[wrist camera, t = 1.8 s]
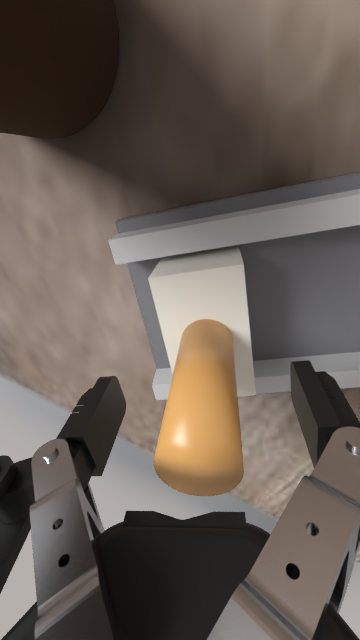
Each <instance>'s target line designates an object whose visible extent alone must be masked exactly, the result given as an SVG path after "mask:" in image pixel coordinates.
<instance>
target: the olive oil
mask: <svg viewBox="0 0 360 640" xmlns="http://www.w3.org/2000/svg"><path fill="white" fill-rule="evenodd" d="M118 50H119V39H118V25H117V18H116V12H115V8H114V3H113V0H0V133H8V134H16V135H24V136H31V137H40V138H60V137H65V136H68V135H71V134H74V133H76V132H78V131H80V130H81V129H83V128H84V127H86V126H87V125H88V124H89V123H91V122H92V121H93V120H94V118H95V117H96V116H97V115H98V114H99V112H100V111H101V109H102V108H103V106H104V104H105V103H106V101H107V99H108V97H109V94H110V92H111V89H112V86H113V83H114V79H115V75H116V70H117V63H118Z"/></svg>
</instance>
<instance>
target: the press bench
mask: <svg viewBox="0 0 360 640" xmlns="http://www.w3.org/2000/svg"><path fill="white" fill-rule="evenodd" d="M116 225H117V229H118V232H119V234H117V235H116V236H114V237H113V238H111V239H110V240H108V241H109V244H110V247H111V251H112V254H113V257H114V261H115V264H116V265H117V264H123V263H127V264H128V268H129V272H130V275H131V279H132V282H133V286H134V289H135V293H136V297H137V300H138V304H139V307H140V311H141V314H142V318H143V321H144V325H145V329H146V332H147V336H148V339H149V343H150V346H151V350H152V353H153V357H154V361H155V364H156V368H157V370H156V373H155V377H154V380H153V383H152V387H153V391H154V394H155V397H156V400H165V399H168V395H169V390H170V386H171V381H172V377H173V375H172V371H171V367H170V363H169V359H168V355H167V351H166V347H165V343H164V339H163V335H162V331H161V327H160V323H159V319H158V315H157V312H156V308H155V304H154V300H153V296H152V292H151V288H150V284H149V280H148V278H149V276H150V275H151V273H152V272H153V270H154V269H155V267H156V265H157V264H158V262H159V261H160V259H161V258H164V257H170V256H177V255H183V254H189V253H195V252H201V251H207V250H213V249H220V248H226V247H232V246H238V245H239V249H240V252H241V256H242V260H243V264H244V273H245V284H246V294H247V305H248V315H249V326H250V336H251V347H252V357H253V368H254V378H255V389H256V394H261V393H277V392H291V379H290V363H291V362H293V361H305V360H309V361H310V362H311V364H312V366H313V368H314V370H315V372H320V371H325V372H327V373H328V374H329V375H330V376H332V377H333V378H334V379H335V380H336V382H337V384H338V385H339V387H340V389H341V388H357V387H360V172H356V173H351V174H345V175H340V176H335V177H330V178H325V179H320V180H315V181H310V182H305V183H300V184H295V185H289V186H284V187H279V188H274V189H269V190H264V191H259V192H254V193H249V194H244V195H239V196H233V197H228V198H223V199H218V200H213V201H208V202H203V203H198V204H193V205H188V206H183V207H177V208H172V209H167V210H162V211H157V212H152V213H147V214H142V215H137V216H132V217H127V218H122V219H120V220H118V221H116Z"/></svg>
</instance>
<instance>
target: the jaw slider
mask: <svg viewBox="0 0 360 640" xmlns="http://www.w3.org/2000/svg"><path fill="white" fill-rule="evenodd" d="M148 280H149V284H150V288H151V292H152V296H153V300H154V304H155V308H156V312H157V315H158V319H159V323H160V327H161V331H162V335H163V339H164V343H165V347H166V351H167V355H168V359H169V363H170V367H171V371H172V375H173V377H172V381H171V386H170V390H169V395H168V399H167V404H166V408H165V412H164V417H163V421H162V426H161V430H160V435H159V439H158V444H157V448H156V453H155V457H154V468H155V471H156V473H157V475H158V476H159V478H161V480H162V481H163V482H164V483H166V484H167V485H168V486H170V487H172V488H173V489H175V490H177V491H180V492H183V493H186V494H190V495H196V496H214V495H219V494H223V493H226V492H228V491H230V490H232V489H234V488H235V487H236V486H237V485H238V484H239V483H240V481H241V480H242V477H243V473H244V468H243V456H242V444H241V432H240V420H239V408H238V397H240V396H256V389H255V378H254V368H253V357H252V347H251V336H250V326H249V315H248V305H247V294H246V284H245V273H244V264H243V260H242V256H241V252H240V249H239V245H238V246H232V247H226V248H220V249H213V250H207V251H201V252H195V253H189V254H183V255H177V256H170V257H164V258H161V259H160V261H159V262H158V264H157V265H156V267H155V269H154V270H153V272H152V273H151V275H150V276H149V278H148Z"/></svg>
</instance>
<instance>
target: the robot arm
mask: <svg viewBox="0 0 360 640" xmlns="http://www.w3.org/2000/svg"><path fill="white" fill-rule="evenodd" d="M290 379H291V396H292V401H293V405H294V408H295V411H296V414H297V417H298V420H299V423H300V426H301V429H302V432H303V435H304V438H305V441H306V444H307V447H308V450H309V453H310V456H311V459H312V462H313V465H314V470H313V472H312V473H311V475H310V476H309V477H308V476H304V477H303V478H302V480H301V481H300V483H299V485H298V486H297V488H296V490H295V492H294V494H293V495H292V497H291V499H290V501H289V503H288V504H287V506H286V508H285V510H284V512H283V513H282V515H281V517H280V519H279V521H278V522H277V524H276V526H275V528H274V530H273V532H272V533H271V535H270V534H269V533H268V532H266V531H264V530H263V529H261V528H259V527H257V526H255V525H252V524H249V523H246V518H245V512H211V513H208V514H204V515H201V516H197V517H193V518H190V519H186V520H179V519H176V518H173V517H170V516H167V515H164V514H161V513H157V512H154V511H126V515H125V518H124V522H121V523H118V524H116V525H114V526H112V527H110V528H108V529H107V530H104V528H103V525H102V522H101V519H100V516H99V513H98V510H97V506H96V503H95V500H94V497H93V494H92V491H91V487H90V485H89V480H90V478H91V476H102V473H103V471H104V468H105V465H106V463H107V460H108V457H109V455H110V452H111V449H112V447H113V444H114V441H115V439H116V436H117V433H118V431H119V428H120V425H121V423H122V420H123V417H124V415H125V411H126V401H125V398H124V395H123V392H122V390H121V387H120V384H119V381H118V379H117V377H116V376H109V377H100V378H99V379H98V380H97V382H96V384H95V386H94V387H93V388H92V389H89V390H88V391H87V392H86V393H85V394H84V395H82V396H81V398H80V400H79V401H78V403H77V405H76V407H75V408H74V410H73V411H72V414H71V415H70V416H69V418H68V420H67V422H66V423H65V425H64V427H63V428H62V430H61V432H60V433H59V435H58V437H57V438H56V439H54V440H51V441H49V442H47V443H46V444H44V445H42V446H41V447H40V448H39V449H38V450H37V451H36V452H35V454H34V455H33V457H32V458H29V459H26V460H23V461H19V462H16V463H13V461H12V460H11V458H10V457H9V456H0V593H1V591H2V589H3V587H4V585H5V583H6V580H7V578H8V576H9V574H10V572H11V570H12V567H13V565H14V563H15V561H16V559H17V557H18V555H19V553H20V550H21V548H22V546H23V544H24V542H25V540H26V538H27V535H28V533H29V531H30V529H31V533H32V546H33V559H34V569H35V583H36V595H37V602H36V603H35V604H34V605H33V606H32V607H31V608H30V609H29V610H28V611H27V612H26V613H25V615H24V616H23V617H22V618H21V619H20V620H19V621H18V622H17V623H16V624H15V626H13V627H12V629H11V630H10V631H9V632H8V633H7V634H6V635H5V636H4V637H3V638H2V639H1V640H360V639H359V638H358V637H357V636H356V635H355V633H354V632H353V631H352V630H351V629H350V627H349V626H348V625H347V623H346V622H345V621H344V620H343V619H342V617H341V616H340V615H339V611H340V608H341V605H342V602H343V599H344V596H345V593H346V590H347V587H348V583H349V580H350V577H351V573H352V569H353V565H354V562H355V558H356V555H357V552H358V549H359V546H360V422H359V421H358V419H357V417H356V415H355V414H354V412H353V410H352V408H351V407H350V405H349V403H348V401H347V399H346V398H345V396H344V394H343V392H342V391H341V390H340V387H339V385H338V384H337V382H336V380H335V379H334V378H333V377H332V376H330V375H329V374H328V373H327V372H325V371H320V372H315V370H314V368H313V366H312V364H311V362H310V361H309V360H305V361H293V362H291V363H290Z"/></svg>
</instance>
